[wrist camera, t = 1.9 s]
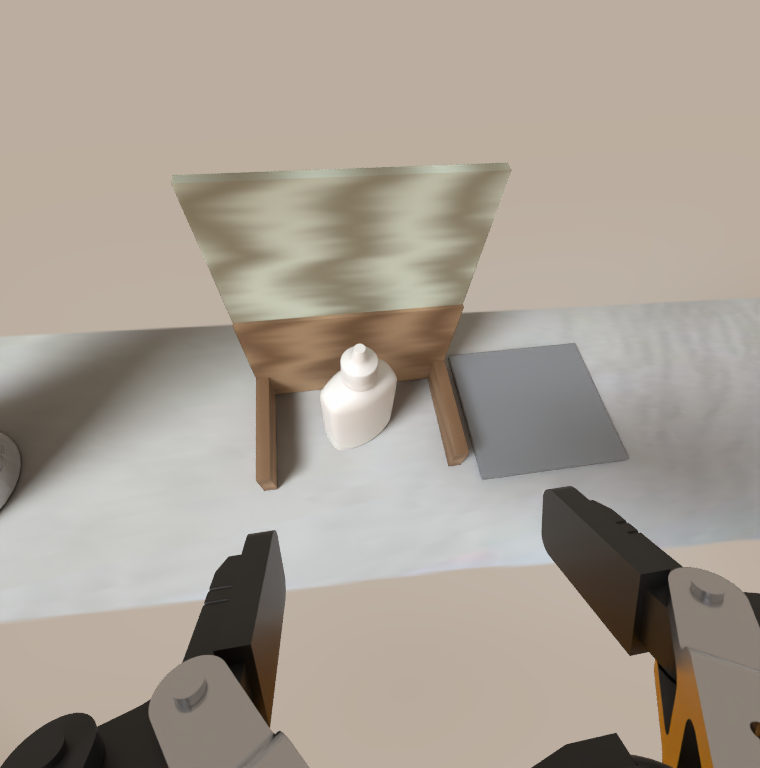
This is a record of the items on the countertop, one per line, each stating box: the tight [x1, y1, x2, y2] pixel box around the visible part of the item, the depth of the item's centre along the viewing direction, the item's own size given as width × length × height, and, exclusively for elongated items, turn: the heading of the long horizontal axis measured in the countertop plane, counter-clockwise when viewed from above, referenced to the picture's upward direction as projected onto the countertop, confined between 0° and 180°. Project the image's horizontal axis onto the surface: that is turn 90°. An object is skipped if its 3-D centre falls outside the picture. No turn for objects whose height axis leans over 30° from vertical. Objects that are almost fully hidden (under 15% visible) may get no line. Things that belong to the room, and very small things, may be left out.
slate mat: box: [448, 343, 629, 480], centre depth 35 cm, size 13×12×1 cm
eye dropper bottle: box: [320, 344, 397, 450], centre depth 28 cm, size 4×6×12 cm
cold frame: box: [171, 163, 511, 491], centre depth 25 cm, size 16×10×20 cm, turn 98°
